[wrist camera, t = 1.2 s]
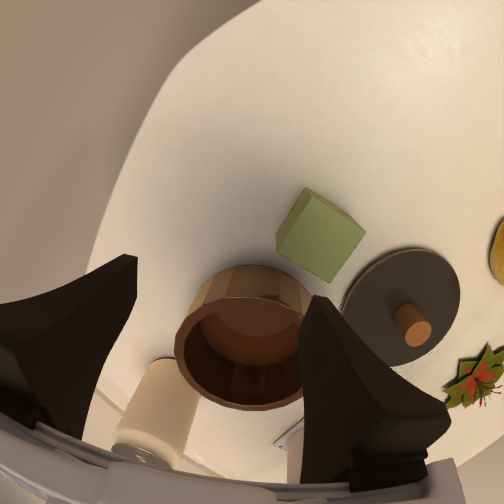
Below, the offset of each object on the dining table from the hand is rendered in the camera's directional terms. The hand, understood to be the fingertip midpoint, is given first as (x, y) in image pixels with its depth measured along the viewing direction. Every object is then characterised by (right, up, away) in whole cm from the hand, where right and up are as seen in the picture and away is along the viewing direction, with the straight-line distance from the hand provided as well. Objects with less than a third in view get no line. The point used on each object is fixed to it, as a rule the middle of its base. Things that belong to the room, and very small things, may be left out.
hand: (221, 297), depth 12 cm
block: (+6, +4, +12) cm, 14 cm away
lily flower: (+30, -15, +17) cm, 38 cm away
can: (-7, -12, +19) cm, 24 cm away
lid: (+16, -4, +13) cm, 21 cm away
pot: (+1, -5, +16) cm, 16 cm away
